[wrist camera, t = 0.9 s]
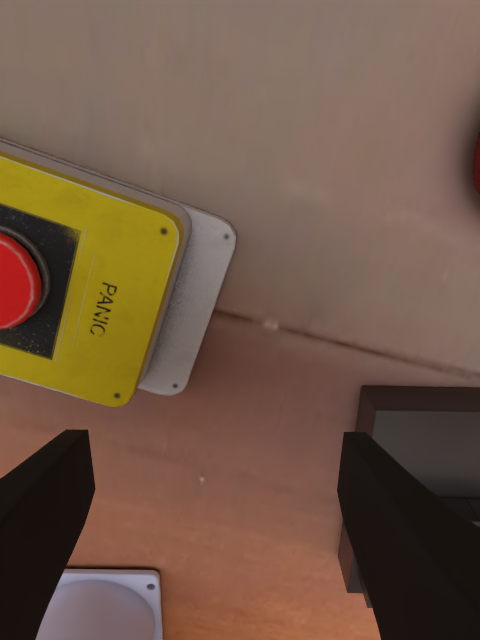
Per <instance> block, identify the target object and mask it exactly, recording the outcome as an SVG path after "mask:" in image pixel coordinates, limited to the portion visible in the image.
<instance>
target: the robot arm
mask: <svg viewBox="0 0 480 640" xmlns="http://www.w3.org/2000/svg"><path fill="white" fill-rule="evenodd" d="M94 492H95V482H94V474H93V466H92V458H91V450H90V442H89V434H88V430H65V431H64V432H62V433H61V434H59V435H58V436H57V437H55V438H54V439H53V440H51V441H50V442H49V443H47V444H46V445H45V446H43V447H42V448H41V449H40V450H38V451H37V452H36V453H34V454H33V455H32V456H30V457H29V458H28V459H26V460H25V461H24V462H22V463H21V464H20V465H18V466H17V467H16V468H15V469H13V470H12V471H11V472H9V473H8V474H6V475H5V476H4V477H2V478H1V479H0V640H163V627H162V609H161V590H160V575H159V573H158V572H157V571H155V570H117V569H65V567H66V565H67V563H68V561H69V558H70V556H71V554H72V552H73V550H74V547H75V545H76V543H77V540H78V538H79V536H80V534H81V531H82V529H83V527H84V524H85V521H86V518H87V515H88V512H89V509H90V506H91V502H92V499H93V495H94ZM337 492H338V497H339V502H340V507H341V512H342V516H343V521H344V525H345V528H346V531H347V534H348V537H349V540H350V543H351V546H352V549H353V552H354V555H355V558H356V561H357V564H358V567H359V570H360V573H361V576H362V578H363V581H364V584H365V587H366V590H367V593H368V596H369V599H370V602H371V605H372V608H373V611H374V615H375V618H376V621H377V625H378V628H379V632H380V637H381V640H480V527H478V526H477V525H475V524H474V523H472V522H471V521H469V520H468V519H467V518H465V517H464V516H462V515H461V514H459V513H458V512H457V511H455V510H454V509H453V508H451V507H450V506H449V505H447V504H446V503H445V502H444V501H442V500H441V499H440V498H439V497H437V496H436V495H435V494H434V493H432V492H431V491H430V490H429V489H428V488H426V487H425V486H424V485H423V484H422V483H420V482H419V481H418V480H417V479H416V478H415V477H414V476H412V475H411V474H410V473H409V472H408V471H407V470H406V469H405V468H403V467H402V466H401V465H400V464H399V463H398V462H397V461H396V460H395V459H394V458H393V457H392V456H391V455H389V454H388V453H387V452H386V451H385V450H384V449H383V448H382V447H381V446H380V445H379V444H378V443H377V442H376V441H375V440H374V439H373V438H372V437H370V436H369V435H368V434H367V433H366V432H344V436H343V445H342V453H341V462H340V471H339V479H338V488H337Z"/></svg>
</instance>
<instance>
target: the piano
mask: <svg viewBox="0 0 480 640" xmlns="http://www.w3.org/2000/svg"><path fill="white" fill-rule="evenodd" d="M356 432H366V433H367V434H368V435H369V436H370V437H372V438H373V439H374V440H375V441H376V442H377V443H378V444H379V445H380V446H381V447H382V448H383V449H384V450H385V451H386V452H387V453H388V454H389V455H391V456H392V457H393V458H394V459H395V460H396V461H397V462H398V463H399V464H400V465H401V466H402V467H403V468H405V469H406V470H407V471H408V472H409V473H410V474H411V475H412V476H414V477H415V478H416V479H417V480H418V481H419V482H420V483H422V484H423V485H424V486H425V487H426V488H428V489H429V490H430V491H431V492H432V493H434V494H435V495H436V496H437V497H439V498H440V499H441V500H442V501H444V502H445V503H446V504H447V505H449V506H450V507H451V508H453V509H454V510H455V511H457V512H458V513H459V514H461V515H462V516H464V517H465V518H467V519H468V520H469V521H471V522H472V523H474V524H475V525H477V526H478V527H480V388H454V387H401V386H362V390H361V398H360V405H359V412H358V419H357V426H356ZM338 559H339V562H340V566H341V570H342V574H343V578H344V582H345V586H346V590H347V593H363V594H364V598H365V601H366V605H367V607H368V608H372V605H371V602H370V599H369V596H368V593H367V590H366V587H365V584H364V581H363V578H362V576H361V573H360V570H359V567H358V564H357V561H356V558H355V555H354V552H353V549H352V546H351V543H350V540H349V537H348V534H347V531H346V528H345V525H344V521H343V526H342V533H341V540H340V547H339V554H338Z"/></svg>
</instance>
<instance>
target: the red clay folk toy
mask: <svg viewBox="0 0 480 640" xmlns="http://www.w3.org/2000/svg"><path fill="white" fill-rule="evenodd" d="M473 181H474V185H475V188H476V190H477V192H478V193H479V195H480V133H479V136H478V139H477V142H476V145H475V148H474V160H473Z"/></svg>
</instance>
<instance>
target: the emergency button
mask: <svg viewBox="0 0 480 640" xmlns="http://www.w3.org/2000/svg"><path fill="white" fill-rule="evenodd" d="M235 246H236V233H235V231H234V229H233V227H232V226H231V224H230V223H229V222H227V221H226V220H224V219H223V218H221V217H219V216H217V215H214V214H211V213H208V212H206V211H203V210H200V209H197V208H194V207H192V206H189V205H186V204H183V203H181V202H178V201H175V200H172V199H169V198H167V197H164V196H161V195H158V194H156V193H153V192H150V191H147V190H144V189H142V188H139V187H136V186H133V185H131V184H128V183H125V182H122V181H120V180H117V179H114V178H111V177H108V176H106V175H103V174H100V173H97V172H95V171H92V170H89V169H86V168H83V167H81V166H78V165H75V164H72V163H70V162H67V161H64V160H61V159H58V158H56V157H53V156H50V155H47V154H45V153H42V152H39V151H36V150H34V149H31V148H28V147H25V146H22V145H20V144H17V143H14V142H11V141H9V140H6V139H3V138H0V375H3V376H7V377H10V378H14V379H17V380H20V381H24V382H27V383H31V384H34V385H37V386H41V387H44V388H48V389H51V390H54V391H58V392H61V393H65V394H68V395H71V396H75V397H78V398H82V399H85V400H88V401H92V402H95V403H99V404H102V405H105V406H109V407H120V406H122V405H124V404H126V403H127V402H128V401H129V400H130V399H131V398H132V396H133V395H134V393H135V392H136V390H137V389H138V388H140V389H143V390H146V391H150V392H153V393H156V394H160V395H169V396H172V395H175V394H178V393H181V392H182V390H183V389H184V388H185V387H186V385H187V383H188V380H189V377H190V374H191V371H192V368H193V366H194V363H195V360H196V357H197V354H198V351H199V349H200V346H201V343H202V340H203V337H204V334H205V331H206V329H207V326H208V323H209V320H210V317H211V314H212V312H213V309H214V306H215V303H216V300H217V297H218V295H219V292H220V289H221V286H222V283H223V280H224V278H225V275H226V272H227V269H228V266H229V263H230V261H231V258H232V255H233V252H234V249H235Z"/></svg>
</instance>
